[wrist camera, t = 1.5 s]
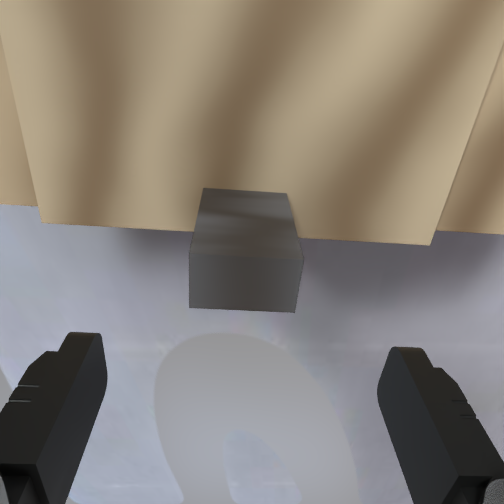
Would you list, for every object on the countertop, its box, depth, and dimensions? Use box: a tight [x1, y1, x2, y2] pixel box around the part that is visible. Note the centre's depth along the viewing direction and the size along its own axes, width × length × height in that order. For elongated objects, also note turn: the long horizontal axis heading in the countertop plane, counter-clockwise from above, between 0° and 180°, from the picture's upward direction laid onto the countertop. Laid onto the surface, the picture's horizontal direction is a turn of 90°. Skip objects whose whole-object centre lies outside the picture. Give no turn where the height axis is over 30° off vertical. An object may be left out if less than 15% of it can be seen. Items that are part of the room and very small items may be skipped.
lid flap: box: [0, 0, 504, 313], centre depth 13 cm, size 20×18×7 cm
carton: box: [0, 35, 504, 234], centre depth 21 cm, size 33×18×12 cm, turn 85°
